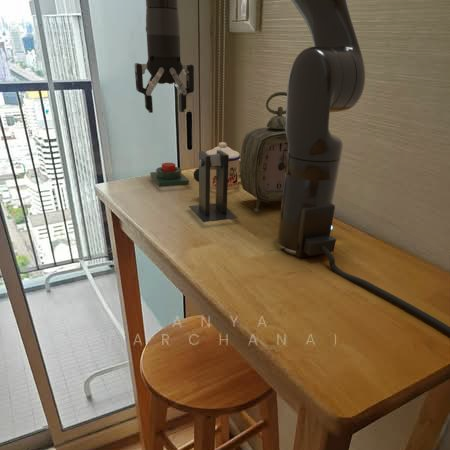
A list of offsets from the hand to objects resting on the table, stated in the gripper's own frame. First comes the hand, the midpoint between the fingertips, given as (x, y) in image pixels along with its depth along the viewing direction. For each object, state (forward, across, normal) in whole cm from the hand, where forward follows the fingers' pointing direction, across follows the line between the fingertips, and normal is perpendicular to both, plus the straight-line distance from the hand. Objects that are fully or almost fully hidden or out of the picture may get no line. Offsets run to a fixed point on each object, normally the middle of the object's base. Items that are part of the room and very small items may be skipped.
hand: (166, 111), depth 101 cm
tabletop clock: (+18, +18, -25) cm, 36 cm away
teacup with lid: (+18, +14, -7) cm, 24 cm away
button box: (+18, 0, 0) cm, 18 cm away
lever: (+10, +3, -23) cm, 25 cm away
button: (+15, 0, 0) cm, 15 cm away
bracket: (+18, +3, -26) cm, 32 cm away
